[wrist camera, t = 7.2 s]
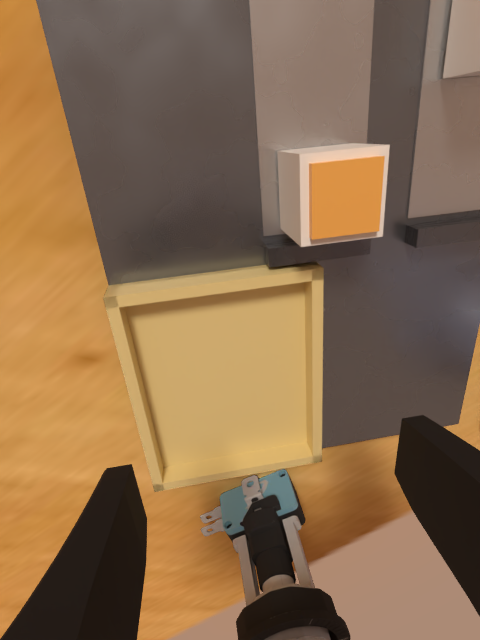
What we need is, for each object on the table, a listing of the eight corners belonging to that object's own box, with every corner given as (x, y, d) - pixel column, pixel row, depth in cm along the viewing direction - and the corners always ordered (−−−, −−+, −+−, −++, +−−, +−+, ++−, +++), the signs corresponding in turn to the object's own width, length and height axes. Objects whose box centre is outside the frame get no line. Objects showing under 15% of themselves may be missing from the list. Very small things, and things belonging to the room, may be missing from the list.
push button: (216, 534, 27) (235, 734, 18) (183, 486, 24) (188, 689, 15) (305, 499, 26) (370, 683, 18) (281, 447, 24) (343, 630, 15)
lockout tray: (312, 258, 17) (323, 268, 16) (313, 443, 22) (321, 461, 21) (108, 285, 16) (102, 297, 15) (156, 470, 21) (154, 491, 20)
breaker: (351, 143, 15) (394, 145, 12) (349, 220, 16) (386, 238, 13) (277, 150, 15) (302, 154, 12) (280, 228, 16) (303, 249, 13)
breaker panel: (521, -28, 15) (583, -58, 13) (442, 407, 25) (469, 435, 22) (48, 2, 13) (21, -26, 11) (158, 456, 23) (156, 492, 21)
